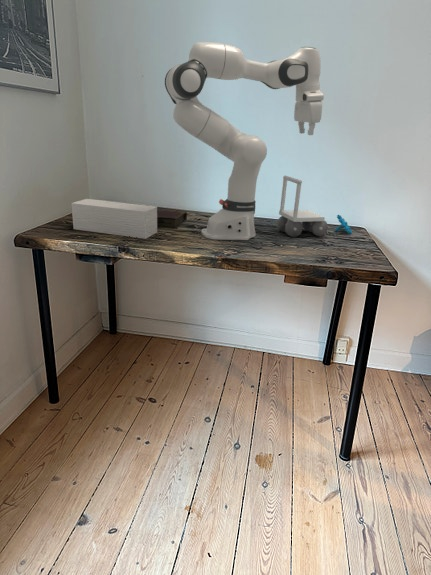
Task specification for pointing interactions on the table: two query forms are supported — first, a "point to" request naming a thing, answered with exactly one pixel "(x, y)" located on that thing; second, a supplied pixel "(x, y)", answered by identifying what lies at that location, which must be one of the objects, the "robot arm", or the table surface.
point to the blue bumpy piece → (343, 225)
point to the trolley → (299, 215)
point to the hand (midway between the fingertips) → (306, 134)
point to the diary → (170, 218)
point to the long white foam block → (115, 218)
